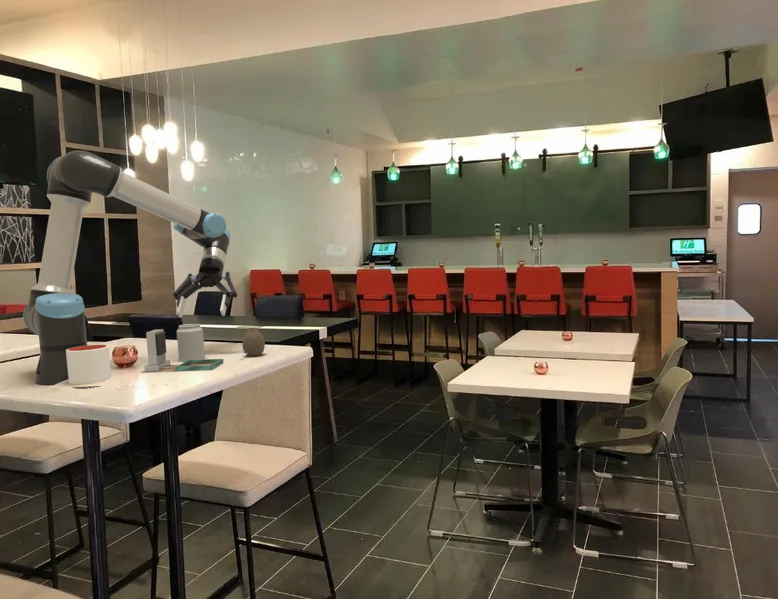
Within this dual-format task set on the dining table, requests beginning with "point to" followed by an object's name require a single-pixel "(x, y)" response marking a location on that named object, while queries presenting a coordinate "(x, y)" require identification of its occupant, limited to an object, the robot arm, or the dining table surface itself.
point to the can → (190, 342)
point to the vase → (253, 343)
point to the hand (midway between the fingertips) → (200, 314)
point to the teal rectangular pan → (193, 365)
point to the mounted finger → (156, 351)
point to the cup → (88, 365)
